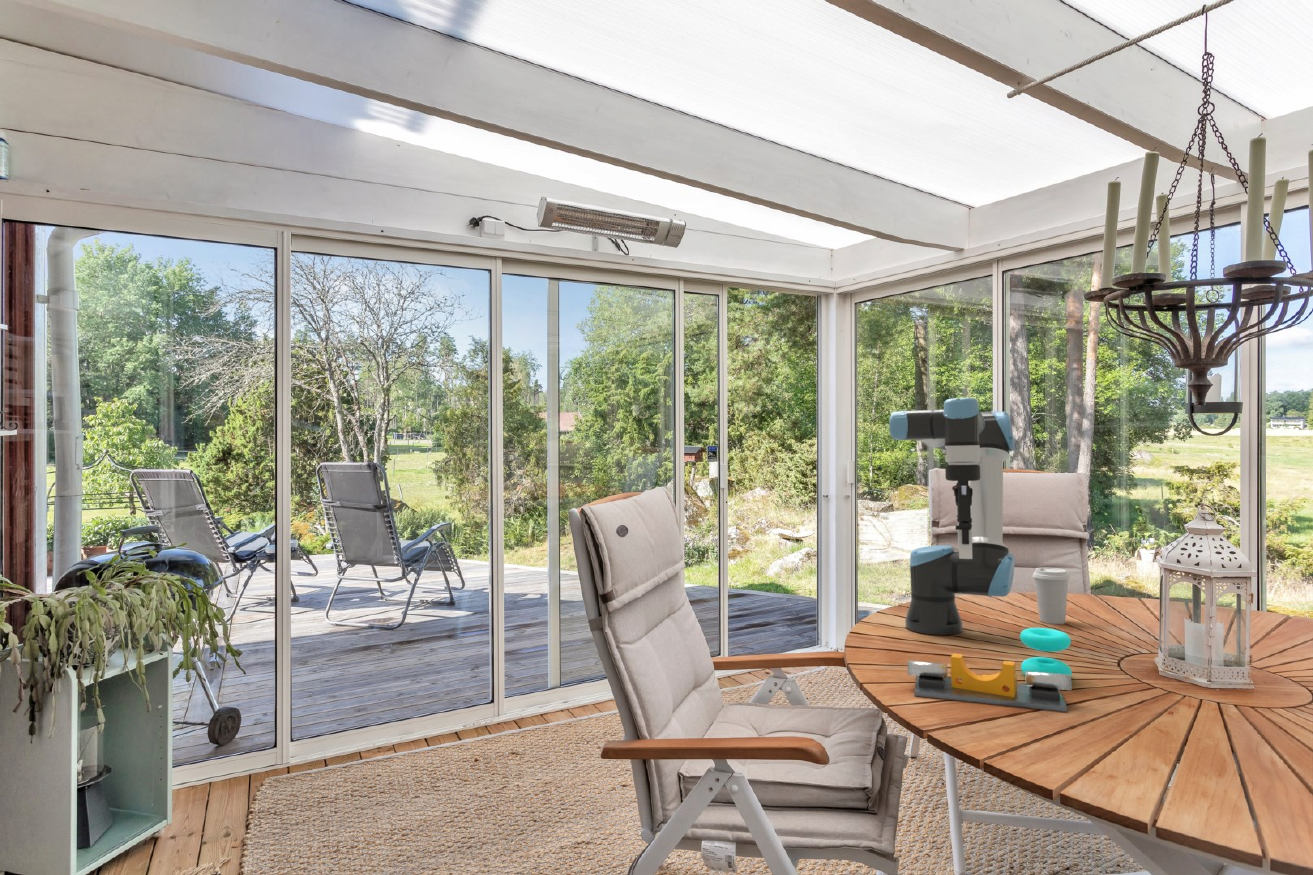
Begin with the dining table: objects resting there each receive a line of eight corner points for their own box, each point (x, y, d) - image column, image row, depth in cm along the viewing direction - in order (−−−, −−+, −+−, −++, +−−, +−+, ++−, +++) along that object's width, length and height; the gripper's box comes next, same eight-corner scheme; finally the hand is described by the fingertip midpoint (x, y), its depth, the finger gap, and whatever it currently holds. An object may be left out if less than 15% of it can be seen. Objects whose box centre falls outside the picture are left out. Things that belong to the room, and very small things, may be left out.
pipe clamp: (1017, 690, 146) (1016, 659, 146) (1014, 697, 143) (1013, 665, 143) (955, 681, 153) (955, 651, 153) (951, 686, 150) (950, 656, 150)
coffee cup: (1036, 615, 211) (1034, 566, 212) (1073, 619, 206) (1071, 568, 206) (1031, 622, 204) (1029, 571, 204) (1069, 627, 198) (1067, 573, 198)
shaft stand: (909, 677, 159) (908, 652, 159) (1066, 692, 148) (1065, 666, 148) (907, 694, 148) (906, 668, 148) (1076, 712, 136) (1075, 684, 137)
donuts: (1066, 628, 161) (1074, 639, 151) (1067, 671, 161) (1075, 686, 151) (1017, 624, 164) (1022, 636, 155) (1018, 667, 164) (1023, 681, 155)
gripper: (945, 462, 178) (947, 545, 178) (945, 465, 155) (947, 561, 155) (977, 461, 176) (979, 546, 175) (982, 465, 152) (985, 563, 152)
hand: (964, 554), depth 165 cm, fingers open, 13 cm apart
